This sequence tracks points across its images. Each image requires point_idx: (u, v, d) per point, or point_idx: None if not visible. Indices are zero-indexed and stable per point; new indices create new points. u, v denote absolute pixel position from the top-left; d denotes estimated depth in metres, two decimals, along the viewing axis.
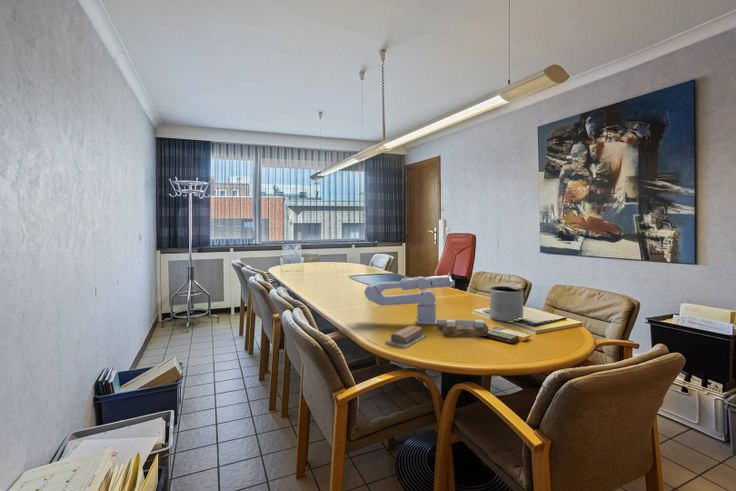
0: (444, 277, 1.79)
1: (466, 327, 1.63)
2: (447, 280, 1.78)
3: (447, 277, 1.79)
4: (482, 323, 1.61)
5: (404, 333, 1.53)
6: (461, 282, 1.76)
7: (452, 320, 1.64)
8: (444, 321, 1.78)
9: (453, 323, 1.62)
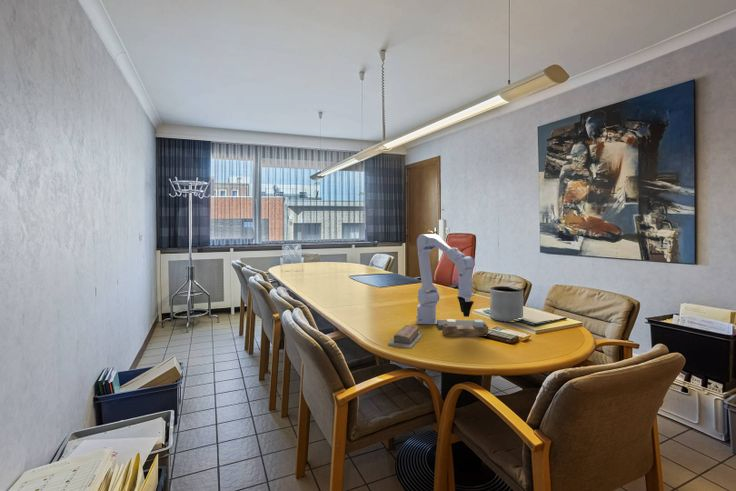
0: (470, 289, 1.61)
1: (466, 327, 1.63)
2: (467, 293, 1.60)
3: (470, 293, 1.61)
4: (482, 323, 1.61)
5: (406, 333, 1.53)
6: (465, 308, 1.59)
7: (452, 320, 1.64)
8: (444, 321, 1.78)
9: (453, 323, 1.62)
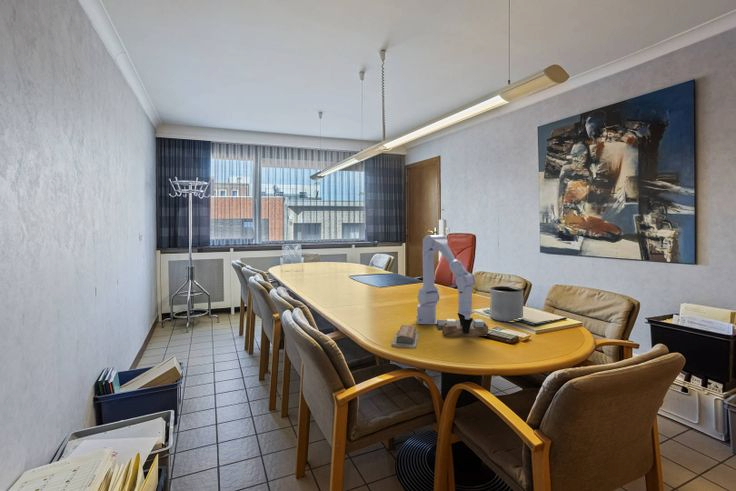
0: (470, 307, 1.61)
1: None
2: (467, 310, 1.60)
3: (470, 310, 1.61)
4: (482, 323, 1.61)
5: (407, 333, 1.53)
6: (465, 325, 1.60)
7: (452, 320, 1.64)
8: (444, 321, 1.78)
9: (453, 323, 1.62)
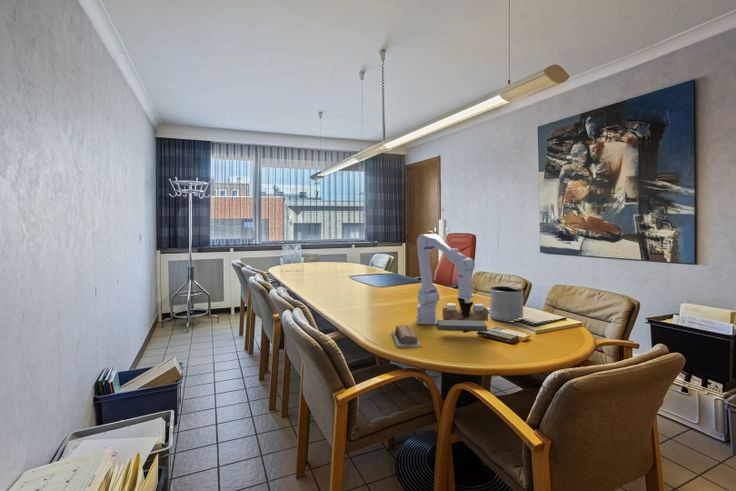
0: (470, 291, 1.61)
1: None
2: (467, 294, 1.60)
3: (470, 294, 1.61)
4: (482, 307, 1.61)
5: (409, 333, 1.53)
6: (465, 309, 1.60)
7: (452, 304, 1.64)
8: (444, 321, 1.78)
9: (453, 307, 1.62)
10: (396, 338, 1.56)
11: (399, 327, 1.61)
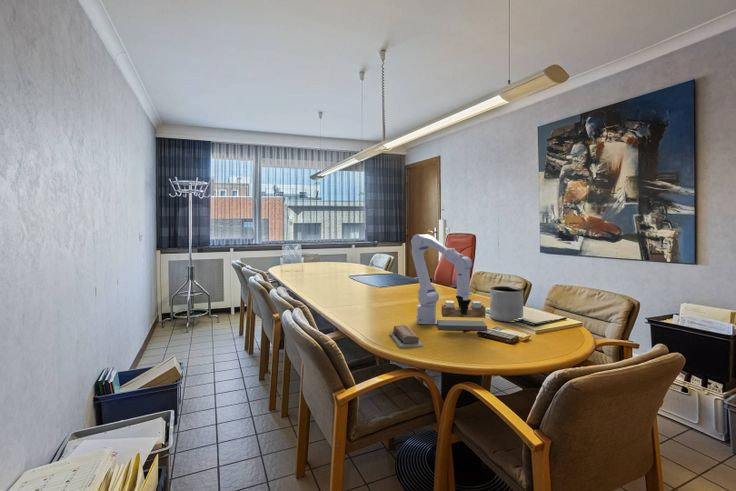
0: (468, 288, 1.66)
1: None
2: (465, 292, 1.66)
3: (468, 292, 1.66)
4: (479, 304, 1.66)
5: (410, 333, 1.53)
6: (463, 306, 1.65)
7: (451, 301, 1.69)
8: (444, 321, 1.78)
9: (452, 304, 1.67)
10: (396, 338, 1.55)
11: (398, 327, 1.61)
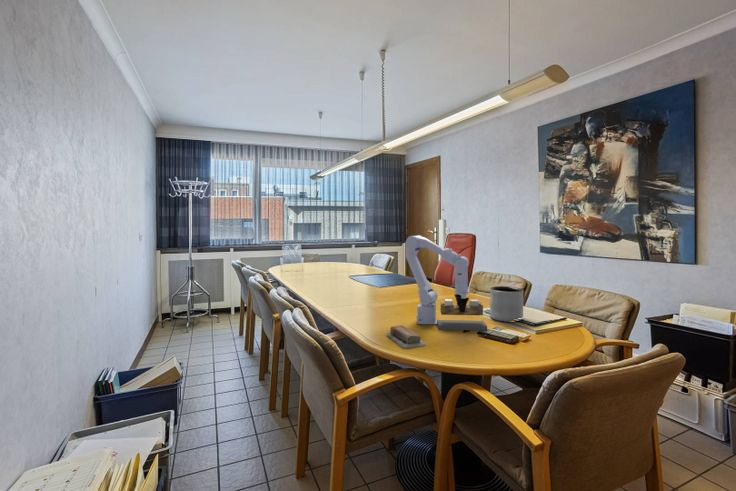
0: (466, 287, 1.72)
1: None
2: (463, 290, 1.71)
3: (466, 290, 1.72)
4: (477, 302, 1.72)
5: (411, 333, 1.53)
6: (461, 304, 1.71)
7: (450, 300, 1.75)
8: (444, 321, 1.78)
9: (451, 302, 1.73)
10: (397, 339, 1.55)
11: (396, 328, 1.60)
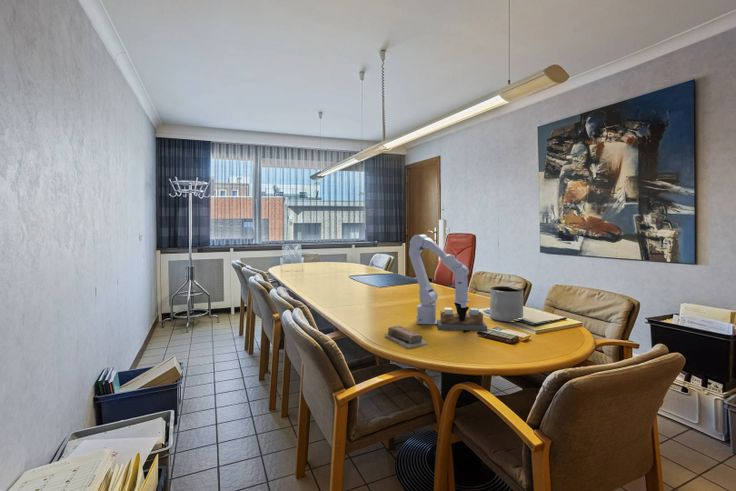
0: (466, 296, 1.72)
1: None
2: (463, 299, 1.72)
3: (466, 299, 1.72)
4: (477, 311, 1.72)
5: (412, 332, 1.54)
6: (461, 313, 1.71)
7: (450, 308, 1.75)
8: None
9: (450, 311, 1.74)
10: (398, 340, 1.54)
11: (394, 328, 1.60)
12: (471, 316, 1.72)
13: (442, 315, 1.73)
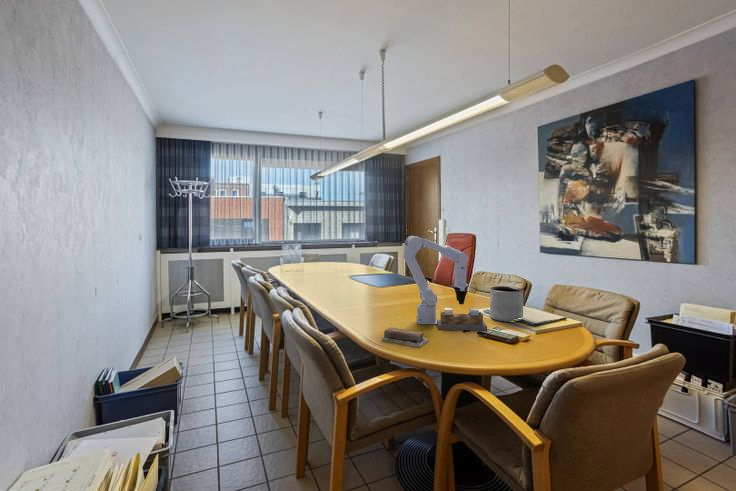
0: (465, 280, 1.82)
1: (462, 315, 1.74)
2: (462, 283, 1.82)
3: (465, 283, 1.82)
4: (477, 311, 1.72)
5: (414, 331, 1.55)
6: (460, 296, 1.81)
7: (450, 309, 1.75)
8: None
9: (450, 311, 1.73)
10: (402, 341, 1.52)
11: (392, 330, 1.57)
12: (471, 316, 1.72)
13: (442, 315, 1.73)
